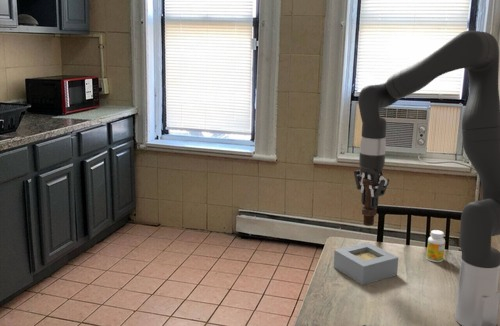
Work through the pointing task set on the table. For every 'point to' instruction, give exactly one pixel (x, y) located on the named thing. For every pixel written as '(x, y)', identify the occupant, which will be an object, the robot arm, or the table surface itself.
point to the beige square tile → (365, 256)
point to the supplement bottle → (436, 246)
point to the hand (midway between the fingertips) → (369, 205)
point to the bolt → (368, 204)
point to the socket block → (365, 263)
